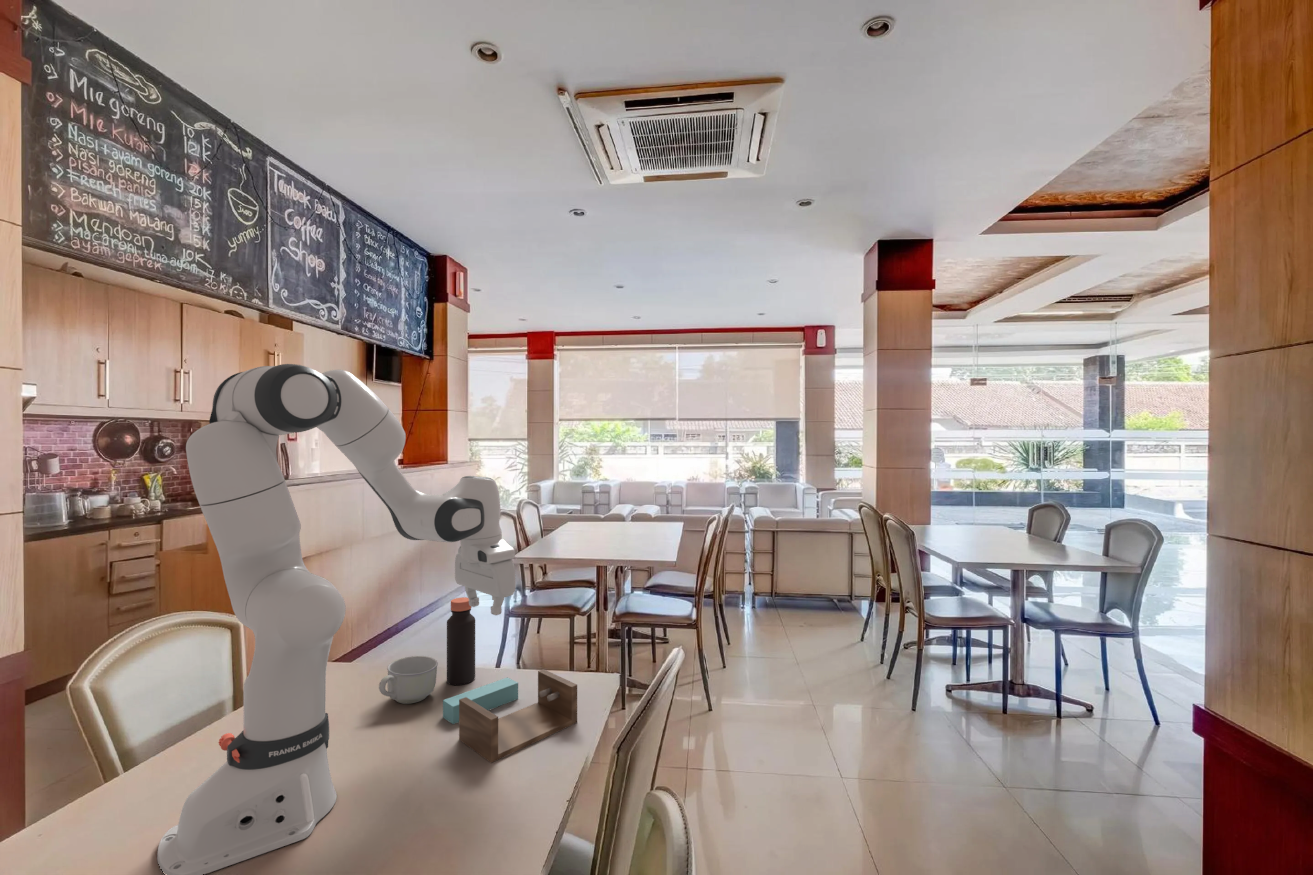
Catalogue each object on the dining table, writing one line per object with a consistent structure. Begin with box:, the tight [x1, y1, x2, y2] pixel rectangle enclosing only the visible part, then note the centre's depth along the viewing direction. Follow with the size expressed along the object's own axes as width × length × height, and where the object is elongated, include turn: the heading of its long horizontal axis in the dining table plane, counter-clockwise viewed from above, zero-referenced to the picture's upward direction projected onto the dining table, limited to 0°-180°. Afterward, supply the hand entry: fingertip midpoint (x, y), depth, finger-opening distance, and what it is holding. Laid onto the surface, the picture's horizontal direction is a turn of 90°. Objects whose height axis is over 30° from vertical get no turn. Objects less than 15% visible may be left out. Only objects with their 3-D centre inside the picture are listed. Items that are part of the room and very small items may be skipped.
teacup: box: [378, 655, 439, 705], centre depth 129 cm, size 14×11×8 cm
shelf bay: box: [458, 668, 578, 764], centre depth 116 cm, size 20×12×8 cm, turn 137°
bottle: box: [446, 596, 476, 686], centre depth 140 cm, size 7×7×20 cm
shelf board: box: [442, 677, 519, 725], centre depth 126 cm, size 16×4×4 cm, turn 137°
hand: (485, 609), depth 125 cm, fingers open, 8 cm apart
